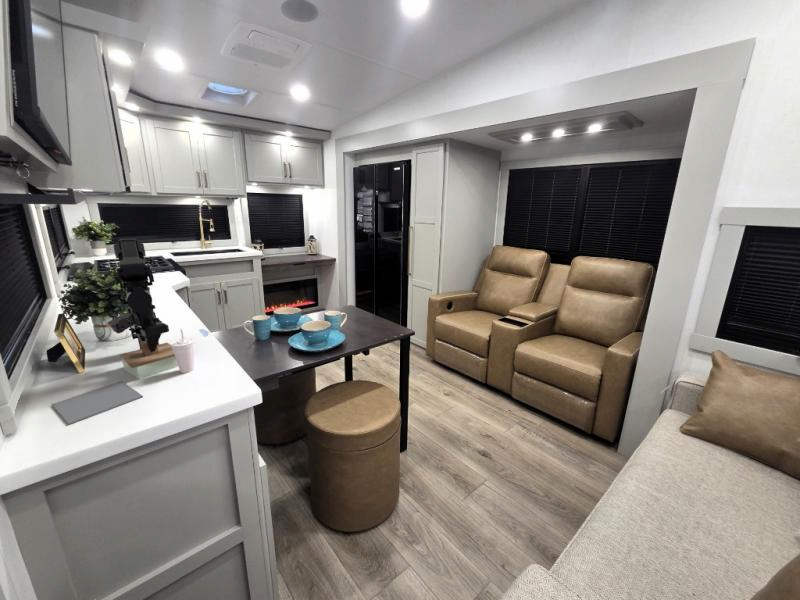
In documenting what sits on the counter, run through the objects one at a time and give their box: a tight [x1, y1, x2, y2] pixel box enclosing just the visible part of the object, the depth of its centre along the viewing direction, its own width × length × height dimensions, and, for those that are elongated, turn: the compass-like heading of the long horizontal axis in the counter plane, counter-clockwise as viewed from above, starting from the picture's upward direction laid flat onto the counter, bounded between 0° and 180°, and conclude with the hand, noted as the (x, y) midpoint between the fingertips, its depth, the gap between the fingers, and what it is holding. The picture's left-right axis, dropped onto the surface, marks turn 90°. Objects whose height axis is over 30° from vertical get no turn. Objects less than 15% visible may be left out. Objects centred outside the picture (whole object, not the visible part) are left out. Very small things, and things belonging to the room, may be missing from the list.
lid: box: [120, 341, 175, 368], centre depth 108 cm, size 13×13×5 cm
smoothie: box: [169, 328, 195, 374], centre depth 106 cm, size 6×6×14 cm
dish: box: [121, 356, 179, 380], centre depth 109 cm, size 12×12×4 cm
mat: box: [51, 380, 144, 426], centre depth 90 cm, size 15×15×1 cm
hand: (150, 350), depth 108 cm, fingers closed on lid, 4 cm apart
